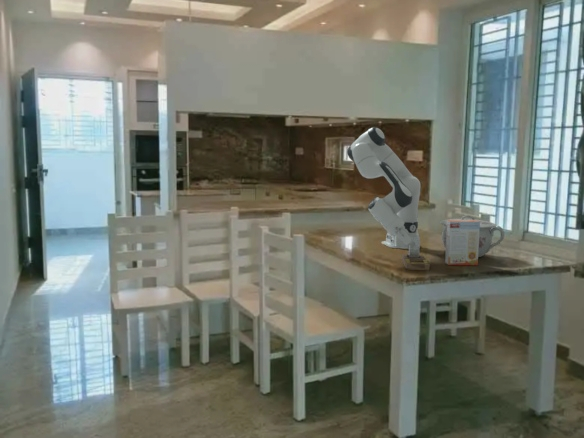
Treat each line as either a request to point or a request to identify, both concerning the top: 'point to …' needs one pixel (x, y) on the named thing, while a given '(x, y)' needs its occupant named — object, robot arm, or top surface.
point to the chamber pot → (484, 234)
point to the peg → (413, 252)
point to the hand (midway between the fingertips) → (415, 247)
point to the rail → (415, 262)
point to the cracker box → (462, 242)
